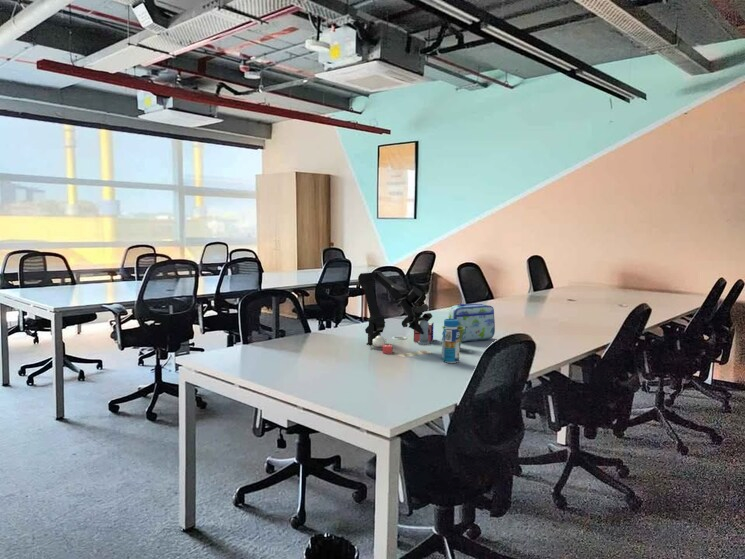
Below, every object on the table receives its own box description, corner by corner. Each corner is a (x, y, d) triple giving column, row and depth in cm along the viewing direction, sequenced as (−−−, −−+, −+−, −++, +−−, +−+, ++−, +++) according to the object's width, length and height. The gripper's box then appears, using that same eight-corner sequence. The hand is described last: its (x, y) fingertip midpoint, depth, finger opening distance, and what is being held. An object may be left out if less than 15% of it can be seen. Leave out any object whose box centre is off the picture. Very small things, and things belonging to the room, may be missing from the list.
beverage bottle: (438, 360, 259) (439, 318, 257) (453, 358, 263) (454, 317, 261) (447, 364, 251) (448, 321, 250) (462, 362, 255) (463, 320, 253)
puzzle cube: (431, 343, 299) (431, 325, 298) (413, 342, 301) (413, 324, 300) (433, 339, 309) (433, 322, 308) (415, 338, 311) (416, 321, 310)
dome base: (367, 350, 277) (367, 346, 277) (375, 347, 285) (375, 343, 285) (383, 352, 273) (383, 348, 273) (390, 349, 281) (390, 345, 281)
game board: (403, 361, 257) (403, 358, 256) (390, 357, 265) (390, 354, 264) (438, 355, 269) (438, 352, 269) (424, 351, 278) (424, 349, 277)
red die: (382, 355, 268) (382, 346, 267) (383, 353, 272) (383, 344, 272) (391, 355, 267) (391, 346, 267) (392, 353, 272) (392, 344, 271)
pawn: (418, 345, 268) (418, 321, 267) (418, 342, 273) (418, 319, 272) (429, 345, 267) (429, 321, 266) (429, 343, 273) (430, 319, 271)
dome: (370, 345, 278) (370, 336, 277) (376, 343, 284) (376, 333, 283) (382, 347, 274) (382, 337, 274) (388, 344, 281) (388, 335, 280)
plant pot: (438, 349, 283) (438, 328, 282) (446, 345, 293) (446, 324, 292) (460, 351, 278) (460, 330, 276) (467, 347, 288) (468, 326, 287)
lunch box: (454, 343, 299) (455, 305, 297) (446, 339, 309) (446, 303, 307) (496, 340, 307) (497, 304, 305) (486, 337, 317) (487, 301, 315)
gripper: (406, 300, 264) (423, 325, 257) (430, 297, 277) (447, 321, 271) (394, 314, 270) (410, 339, 264) (417, 310, 284) (434, 334, 277)
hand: (426, 333), depth 269 cm, fingers closed on pawn, 4 cm apart
